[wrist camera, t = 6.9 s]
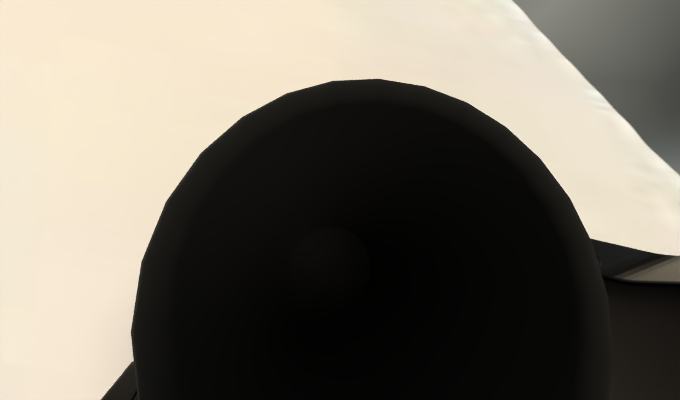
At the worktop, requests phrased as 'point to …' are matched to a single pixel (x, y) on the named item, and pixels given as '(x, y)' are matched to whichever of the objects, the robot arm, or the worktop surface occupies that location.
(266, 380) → the cup
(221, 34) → the worktop surface
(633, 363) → the robot arm
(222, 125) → the worktop surface
